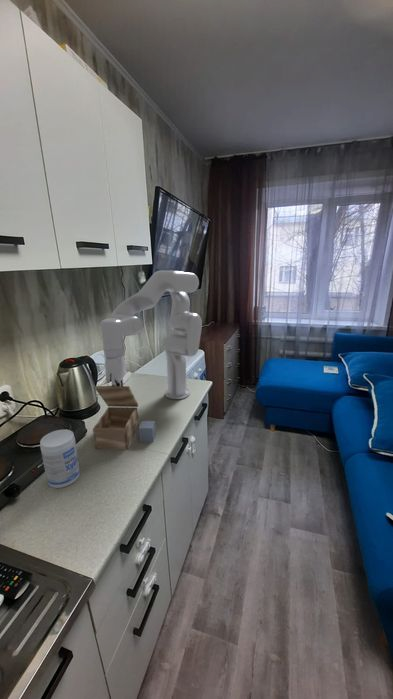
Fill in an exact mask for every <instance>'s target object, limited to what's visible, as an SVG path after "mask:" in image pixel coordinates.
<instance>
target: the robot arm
mask: <svg viewBox="0 0 393 699" xmlns="http://www.w3.org/2000/svg"><path fill="white" fill-rule="evenodd" d="M199 286H200V280H199V277H198V276H197V275H196V274H195V273H193V272H186V271H185V272H184V271H180V270H157V271H155V272H154V273H153V274H152V275H151V276H150V277H149V279H148V280H147V281H146V283H145V284H144V285H143V286H142V287H141V289H140V290H139V291H138V292H137V293H135V294H133V295H132V296H130V297H128V298H127V299H125V300H123V301H122V302H121V303H120V304H118V305H117V307H115V309H114V310H113V311H112V312H111V313H110V315H109V317H108V318H105V319H102V320H101V321H100V333H101V334H100V335H101V339H102V348H103V355H104V358H105V361H104V368H105V382H106V384H110V383H111V386H124V378H125V376H126V374H127V370H126V369H127V367H126V366H127V365H126V361H125V360H126V359H125V355H126V353H125V352H126V351H125V341H124V337H131V336H132V337H133V336H135V335H138V334H139V333H140V332H142V330H143V321H142V319H141V318H140V317H139V316H136V315H135V314H136V313H140V312H142V311H146V310H150V309H152V308H154V307H155V306H156V305H157V304H158V302H160V300H161V299H162V297H163V296H164V295H165V293H166V292H169V294H170V297H171V311H170V317H169V318H170V319H169V327H170V329H171V330H173V331H176V332H179V333H170V334H167V335H166V336H165V337H164V339H163V347H164V348H163V350H164V352H165V357H166V372H167V373H166V374H167V376H166V377H167V390H165V391H164V394H165V398H167V399H172V400H182V399H186V398H188V397H189V396H190V394H191V393H190V389H189V388H188V387H187V386H188V384H187V362H186V361H187V360H186V357H194V356H196V355H197V353H198V352H199V348H200V342H201V334H202V330H203V328H202V327H203V323H202V322H203V321H202V317H201V316H200V315H199V314H198V313H196V312H190V306H191V301H190V297H189V295H188V293H189V294H191V293H194V292H196V291H197V290H198V289H199ZM180 332H182V333H186V334H180Z"/></svg>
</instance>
